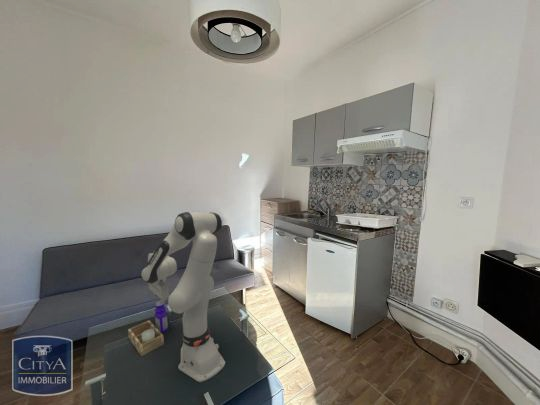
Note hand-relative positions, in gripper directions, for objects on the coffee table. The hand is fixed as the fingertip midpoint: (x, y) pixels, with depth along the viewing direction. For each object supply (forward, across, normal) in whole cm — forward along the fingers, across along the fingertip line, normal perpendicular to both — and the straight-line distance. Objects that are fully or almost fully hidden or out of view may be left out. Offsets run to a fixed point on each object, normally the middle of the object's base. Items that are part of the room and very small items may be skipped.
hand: (159, 301), depth 133 cm
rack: (+18, -5, +10) cm, 21 cm away
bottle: (+18, -1, 0) cm, 18 cm away
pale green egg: (+17, -9, +10) cm, 21 cm away
